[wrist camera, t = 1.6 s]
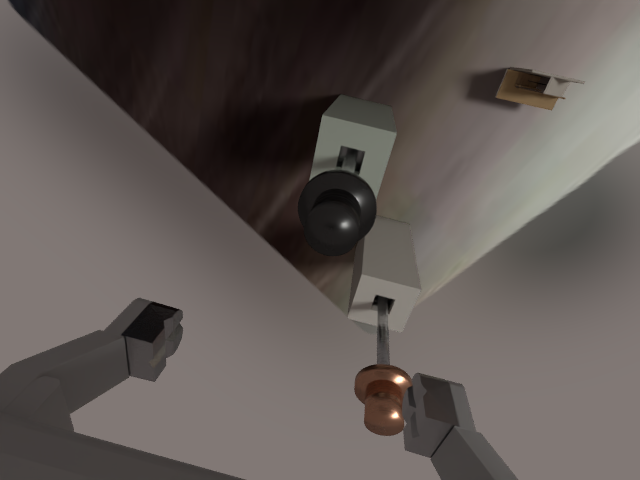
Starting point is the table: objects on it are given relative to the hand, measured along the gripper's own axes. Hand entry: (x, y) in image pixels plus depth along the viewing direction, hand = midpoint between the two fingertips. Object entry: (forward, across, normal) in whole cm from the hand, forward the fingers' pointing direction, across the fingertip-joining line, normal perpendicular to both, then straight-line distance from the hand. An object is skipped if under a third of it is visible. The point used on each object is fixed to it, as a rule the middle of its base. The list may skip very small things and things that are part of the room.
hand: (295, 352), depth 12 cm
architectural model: (+42, -19, -10) cm, 47 cm away
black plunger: (+28, 0, 0) cm, 28 cm away
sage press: (+41, 0, 0) cm, 41 cm away
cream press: (+41, -8, +16) cm, 45 cm away
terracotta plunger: (+28, -8, +16) cm, 33 cm away
